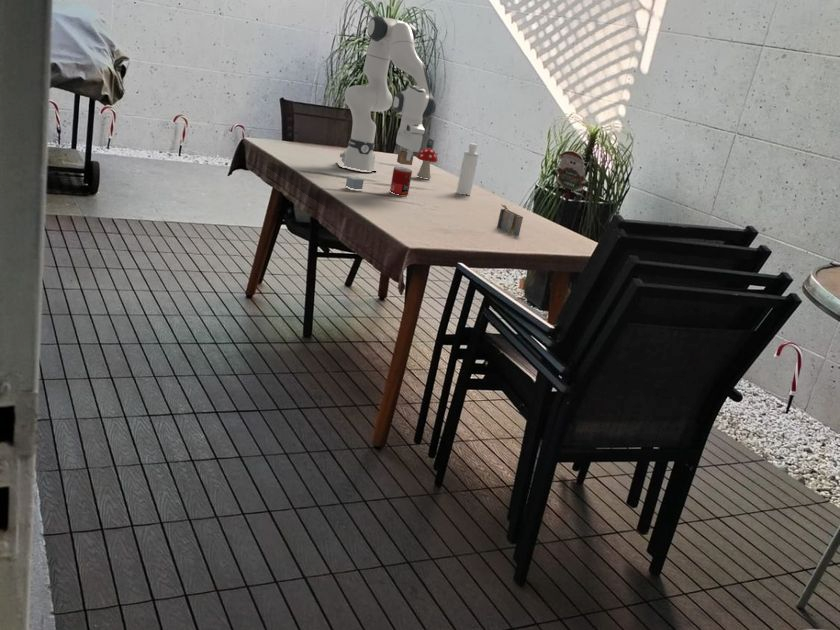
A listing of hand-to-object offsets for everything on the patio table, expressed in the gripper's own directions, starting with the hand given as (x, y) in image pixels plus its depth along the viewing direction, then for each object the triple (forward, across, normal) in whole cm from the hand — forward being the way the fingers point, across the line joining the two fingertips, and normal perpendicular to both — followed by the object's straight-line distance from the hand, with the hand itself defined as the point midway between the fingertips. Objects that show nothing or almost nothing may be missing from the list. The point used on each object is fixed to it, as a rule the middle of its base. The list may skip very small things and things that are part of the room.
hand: (405, 159), depth 343 cm
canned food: (+15, 0, 0) cm, 15 cm away
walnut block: (+2, 0, 0) cm, 2 cm away
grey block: (+15, +2, -21) cm, 26 cm away
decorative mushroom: (+15, -47, +30) cm, 58 cm away
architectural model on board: (+16, +50, +28) cm, 59 cm away
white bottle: (+15, -18, +39) cm, 46 cm away
